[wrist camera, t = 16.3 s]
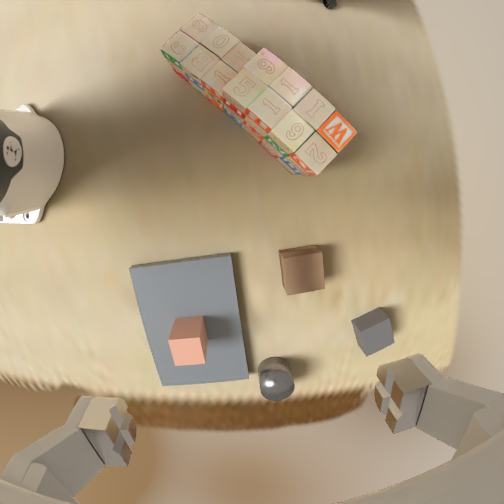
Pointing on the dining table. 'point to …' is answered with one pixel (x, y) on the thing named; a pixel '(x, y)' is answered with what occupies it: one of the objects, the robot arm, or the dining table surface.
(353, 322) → the charcoal rubber cube
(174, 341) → the terracotta block
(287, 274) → the walnut block
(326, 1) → the coffee press
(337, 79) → the dining table surface
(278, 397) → the dark metal cylinder
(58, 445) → the robot arm
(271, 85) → the stack of blocks
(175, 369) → the slate board
